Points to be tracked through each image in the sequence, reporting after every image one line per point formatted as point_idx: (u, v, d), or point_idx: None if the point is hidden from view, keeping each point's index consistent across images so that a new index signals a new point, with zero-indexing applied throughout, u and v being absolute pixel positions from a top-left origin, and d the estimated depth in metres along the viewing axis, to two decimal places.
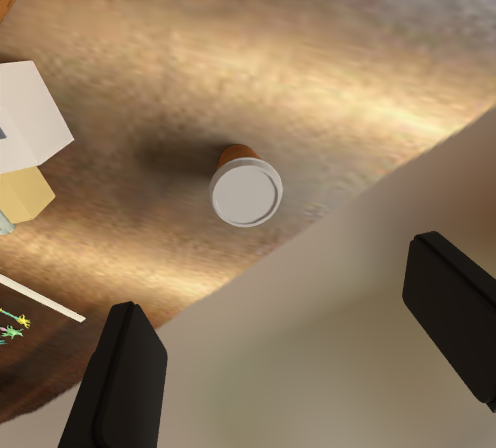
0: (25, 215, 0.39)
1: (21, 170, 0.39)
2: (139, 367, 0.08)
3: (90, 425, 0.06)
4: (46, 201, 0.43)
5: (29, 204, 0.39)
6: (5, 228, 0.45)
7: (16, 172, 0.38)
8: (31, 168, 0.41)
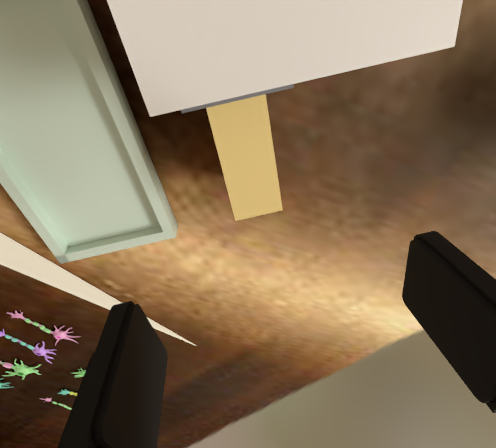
0: (270, 201, 0.17)
1: None
2: (139, 367, 0.08)
3: (90, 425, 0.06)
4: None
5: None
6: (170, 229, 0.24)
7: None
8: None
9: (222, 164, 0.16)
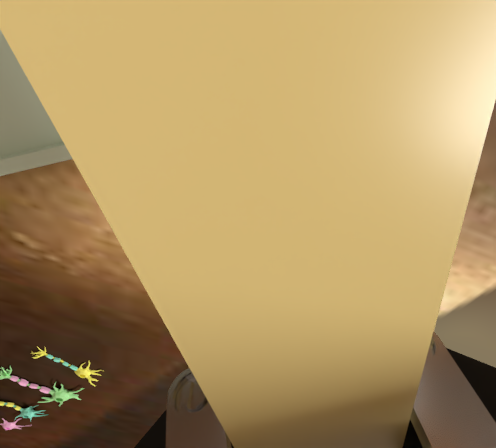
0: None
1: None
2: None
3: None
4: None
5: None
6: None
7: None
8: None
9: None
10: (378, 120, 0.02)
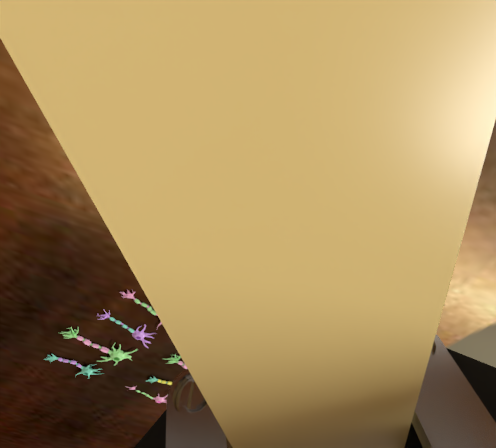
0: None
1: None
2: None
3: None
4: None
5: None
6: None
7: None
8: None
9: None
10: (381, 125, 0.02)
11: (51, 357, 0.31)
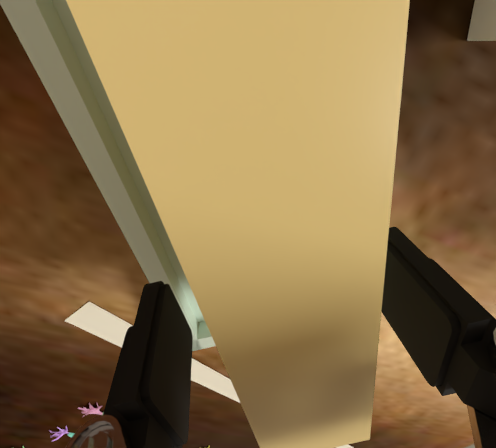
0: (348, 432, 0.08)
1: None
2: (172, 341, 0.09)
3: (138, 385, 0.07)
4: None
5: None
6: None
7: None
8: None
9: (243, 397, 0.06)
10: (323, 110, 0.03)
11: None
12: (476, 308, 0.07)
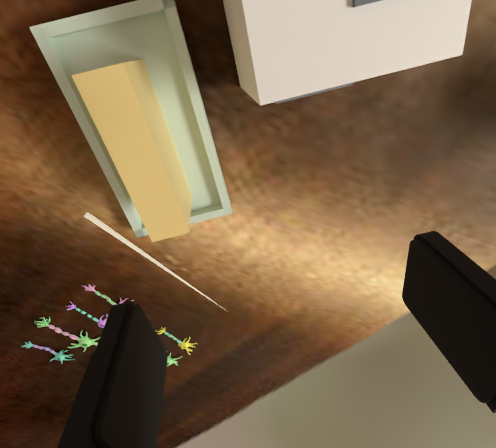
0: (178, 226, 0.22)
1: (167, 149, 0.23)
2: (139, 367, 0.08)
3: (90, 425, 0.06)
4: (189, 203, 0.26)
5: (182, 207, 0.23)
6: (229, 206, 0.29)
7: (165, 151, 0.22)
8: (172, 148, 0.25)
9: (133, 200, 0.21)
10: (128, 116, 0.18)
11: (28, 344, 0.37)
12: None
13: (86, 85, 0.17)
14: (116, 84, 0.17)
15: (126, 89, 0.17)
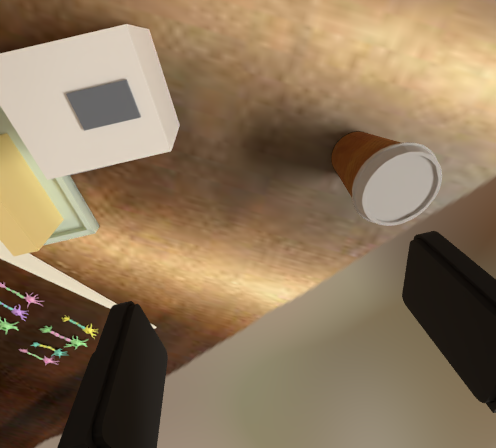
0: (29, 246, 0.33)
1: (24, 193, 0.33)
2: (139, 367, 0.08)
3: (90, 425, 0.06)
4: (53, 227, 0.37)
5: (34, 233, 0.33)
6: (91, 228, 0.39)
7: (19, 196, 0.32)
8: (36, 190, 0.35)
9: None
10: None
11: None
12: None
13: None
14: None
15: None
